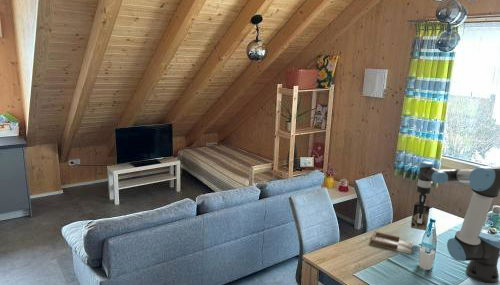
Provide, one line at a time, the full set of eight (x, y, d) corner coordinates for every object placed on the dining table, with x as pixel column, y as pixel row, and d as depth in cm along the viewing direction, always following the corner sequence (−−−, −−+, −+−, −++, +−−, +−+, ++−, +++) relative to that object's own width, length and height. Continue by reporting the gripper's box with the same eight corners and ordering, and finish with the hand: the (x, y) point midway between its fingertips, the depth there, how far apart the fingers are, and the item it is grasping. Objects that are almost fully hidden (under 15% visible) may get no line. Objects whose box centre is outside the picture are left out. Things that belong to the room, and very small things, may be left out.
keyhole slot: (410, 254, 221) (411, 249, 220) (370, 244, 231) (370, 240, 230) (412, 243, 235) (413, 239, 234) (374, 234, 245) (374, 230, 245)
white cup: (435, 270, 205) (438, 253, 203) (423, 271, 204) (425, 254, 201) (427, 262, 212) (429, 246, 210) (414, 263, 211) (416, 247, 209)
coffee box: (410, 228, 233) (413, 204, 230) (410, 224, 239) (413, 200, 236) (426, 231, 230) (430, 206, 227) (426, 227, 236) (429, 203, 233)
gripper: (430, 191, 219) (425, 227, 223) (430, 183, 236) (426, 216, 241) (416, 189, 222) (412, 225, 227) (418, 181, 239) (414, 214, 244)
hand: (419, 220), depth 234 cm, fingers closed on coffee box, 7 cm apart
